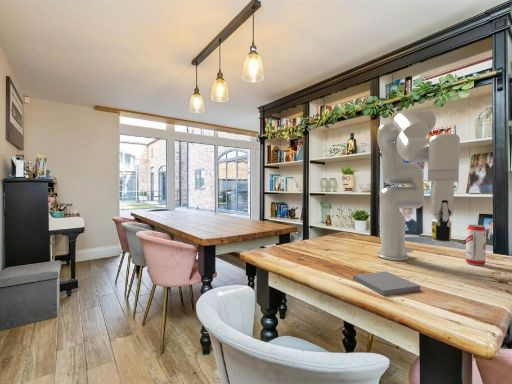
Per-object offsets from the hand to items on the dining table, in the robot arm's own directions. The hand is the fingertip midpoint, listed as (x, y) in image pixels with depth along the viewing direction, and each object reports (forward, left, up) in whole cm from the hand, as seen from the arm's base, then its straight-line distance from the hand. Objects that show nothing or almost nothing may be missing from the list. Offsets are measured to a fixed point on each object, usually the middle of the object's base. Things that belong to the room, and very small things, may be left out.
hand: (441, 237), depth 80 cm
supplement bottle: (0, 0, -1) cm, 1 cm away
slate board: (+10, -11, -17) cm, 23 cm away
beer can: (-43, -19, -17) cm, 50 cm away
